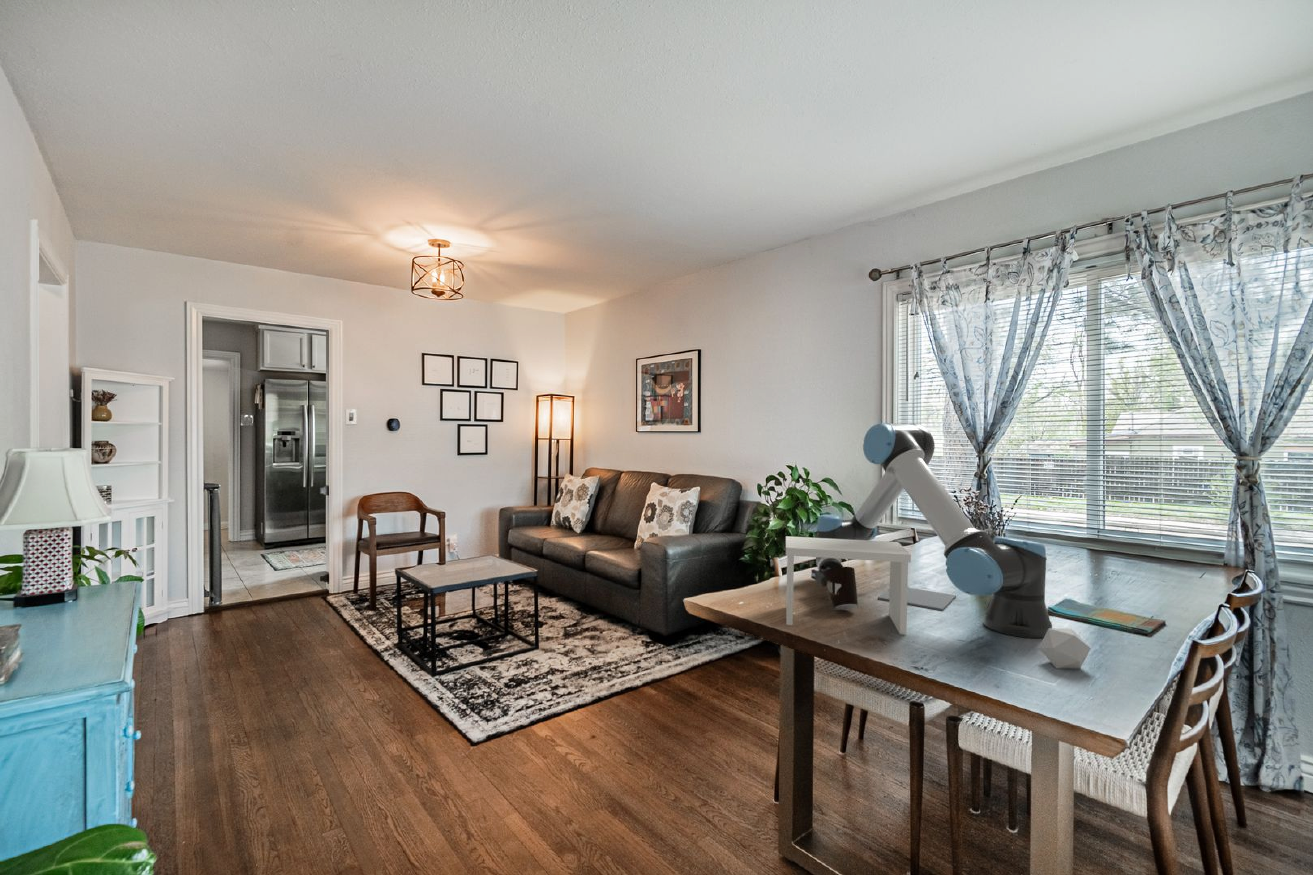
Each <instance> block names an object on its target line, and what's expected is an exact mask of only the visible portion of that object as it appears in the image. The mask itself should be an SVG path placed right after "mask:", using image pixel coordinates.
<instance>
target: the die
mask: <svg viewBox="0 0 1313 875" xmlns="http://www.w3.org/2000/svg"><path fill="white" fill-rule="evenodd" d="M1038 649H1039V651H1040V652H1041V653H1042V654H1043V655H1044V657H1046V658H1047V659H1048V661H1050V663H1051V664H1052V665H1053V666H1054V668H1056V669H1064V670H1065V669H1072V670H1073V669H1074V670H1076V669H1077V670H1080V669H1081V668H1082V666H1083V664H1084V663H1085V660H1086V659H1087V657H1088V656H1089V654H1090V653H1089V652H1090V651H1091V649H1092V648H1091V647H1090V645H1088V644H1087V643H1086V641H1084V640H1083V638H1082V637H1080V635H1078V634H1077V633H1076V631H1074V629H1072V628H1057V627H1056V628H1054V627H1052V628H1049V629H1048V631H1047V633H1046V635H1045V637H1044V638H1043V639H1042V641H1040V644H1039V646H1038Z"/></svg>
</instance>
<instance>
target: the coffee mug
mask: <svg viewBox="0 0 1313 875" xmlns="http://www.w3.org/2000/svg"><path fill="white" fill-rule="evenodd" d="M823 574H824V577H825V580H826V583H827V585H826V587H827V589H828V593H829V595H830V599H831V601H832V606H833V609H834V610H837V611H838V610H840V611H843V610H851V609H855V608H857V607H858V606H859V601H858V592H857V581H856V580H857V579H856V572H855V568H854V567H852V566H843V567H836V568H832V569H828V570H826V571H824V573H823ZM835 583H836V584H841V587H840V588H839V589H838V590H837V592H836V594H835Z"/></svg>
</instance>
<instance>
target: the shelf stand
mask: <svg viewBox="0 0 1313 875" xmlns="http://www.w3.org/2000/svg"><path fill="white" fill-rule="evenodd" d="M785 556H786V596H785V597H786V600H785V602H786V603H785V614H786V615H785V616H786V621H785V622H786V624H785V625H786V626H793V622H794V621H793V620H794V619H793V618H794V617H793V616H794V615H793V614H794V570H795V569H794V568H795V562H794V561H795V557H806V558H816V557H822V558H839V559H840V560H841V559H842V560H844V559H845V560H860V561H873V562H877V561H878V562H889V589H890V591H889V601H888V602H889V604H888V606H889V607H888V616H889V617H890V619H891V621H892V623H893V624H894V626H895V629H896V630H897V631H898V633H899V634H900V635H905V636H906V635H907V631H908V630H907V629H908V628H907V624H908V622H907V621H908V605H907V588H909V587H908V583H909V582H908V581H909V578H908V577H909V563H911V562H912V560H911V559H912V553H910V552H909V551H908V550H907V549H906V548H905V547H904V546H902V544H901V543H900V542H899V541H883V540H869V541H867V540H848V539H829V538H817V537H810V536H809V537H807V536H805V537H803V536H787V535H786V536H785Z"/></svg>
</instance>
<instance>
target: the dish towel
mask: <svg viewBox="0 0 1313 875" xmlns="http://www.w3.org/2000/svg"><path fill="white" fill-rule="evenodd" d="M1046 608H1047V612H1048V615H1049V616H1052V617H1055V618H1056V617H1057V618H1061V619H1068V620H1072V621H1078V622H1082V623H1087V624H1091V625H1096V626H1099V625H1100V626H1099V627H1103V628H1104V627H1105V628H1109V629H1114V630H1118V631H1123V632H1127V633H1132V634H1136V635H1141V636H1145V637H1150V636H1152V635H1153V634H1155V633H1156V632H1157V631H1159V630H1161V629H1162V628H1163V627H1164V626H1165V625H1167V624H1166V620H1164V619H1160V618H1159V619H1158V618H1151V617H1147V616H1144V615H1139V614H1136V613H1135V614H1134V613H1132V612H1131V613H1130V612H1124V611H1120V610H1118V609H1112V608H1108V607H1101V606H1095V605H1091V604H1087V603H1083V602H1080V601H1076V600H1074V599H1072V598H1067V597H1066V598H1064V599H1062V600H1060V601H1059V602H1058V603H1055V604H1054V605H1052V606H1048V607H1046Z"/></svg>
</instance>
